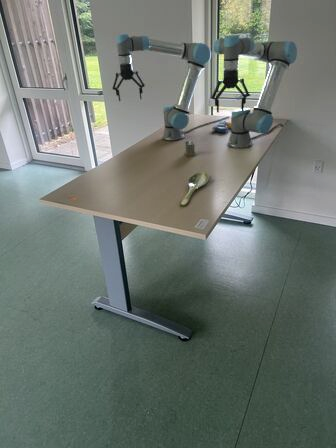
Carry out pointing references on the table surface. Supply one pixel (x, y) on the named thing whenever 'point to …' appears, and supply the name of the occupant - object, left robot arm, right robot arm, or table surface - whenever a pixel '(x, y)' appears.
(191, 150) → the brick
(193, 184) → the spoon
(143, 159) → the table surface
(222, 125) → the spray gun
